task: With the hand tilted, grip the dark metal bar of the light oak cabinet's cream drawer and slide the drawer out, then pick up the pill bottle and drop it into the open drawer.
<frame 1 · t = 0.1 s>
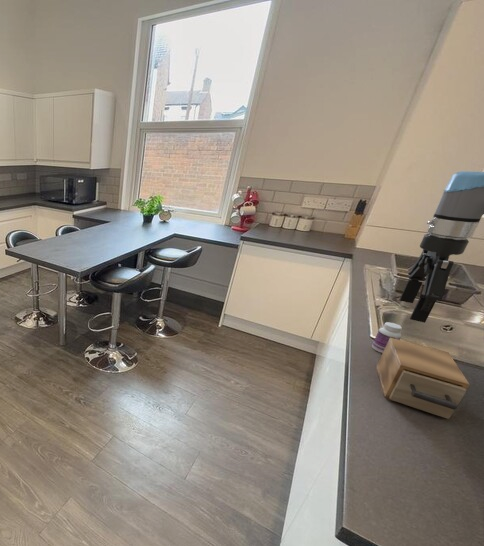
hand: (411, 310, 86), 21 cm above the worktop, tool pointing down, fingers open, 13 cm apart
pill bottle: (381, 350, 104), on the worktop
drawer: (421, 384, 81), point 5 cm above the worktop, slide at 0.5 cm
cabinet: (408, 390, 86), on the worktop
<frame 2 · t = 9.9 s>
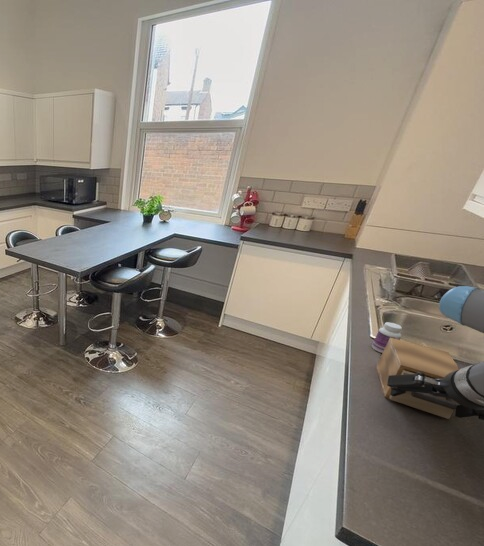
hand: (424, 400, 77), 4 cm above the worktop, tool tilted 45°, fingers closed on drawer, 11 cm apart
drawer: (421, 384, 81), point 5 cm above the worktop, slide at 0.5 cm, touching gripper
everything else where it was.
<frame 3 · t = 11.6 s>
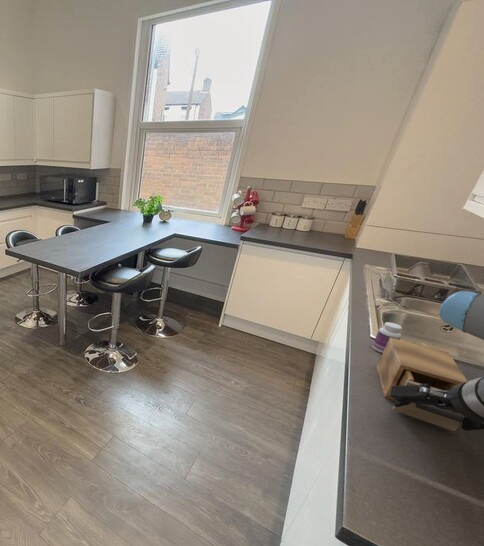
hand: (429, 412, 74), 4 cm above the worktop, tool tilted 45°, fingers closed on drawer, 11 cm apart
drawer: (425, 394, 77), point 5 cm above the worktop, slide at 5.0 cm, touching gripper
everything else where it was.
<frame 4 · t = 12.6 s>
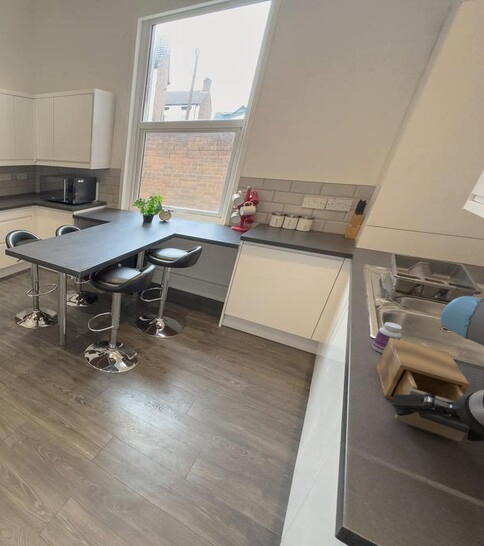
hand: (433, 421, 71), 4 cm above the worktop, tool tilted 45°, fingers closed on drawer, 11 cm apart
drawer: (429, 402, 75), point 5 cm above the worktop, slide at 8.4 cm, touching gripper
everything else where it was.
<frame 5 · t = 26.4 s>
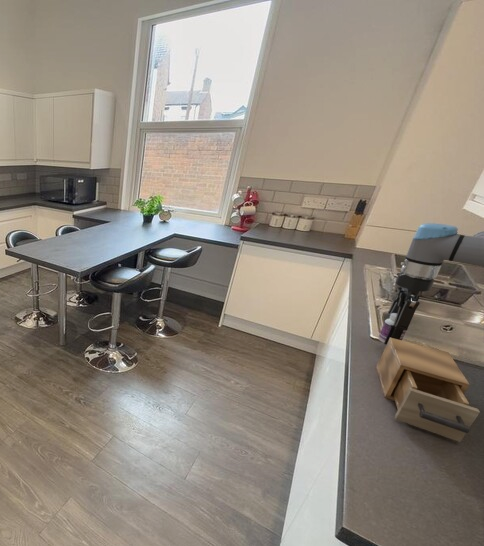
hand: (388, 340, 102), 4 cm above the worktop, tool pointing down, fingers closed on pill bottle, 5 cm apart
pill bottle: (388, 342, 102), point 3 cm above the worktop, touching gripper
drawer: (429, 402, 75), point 5 cm above the worktop, slide at 8.5 cm
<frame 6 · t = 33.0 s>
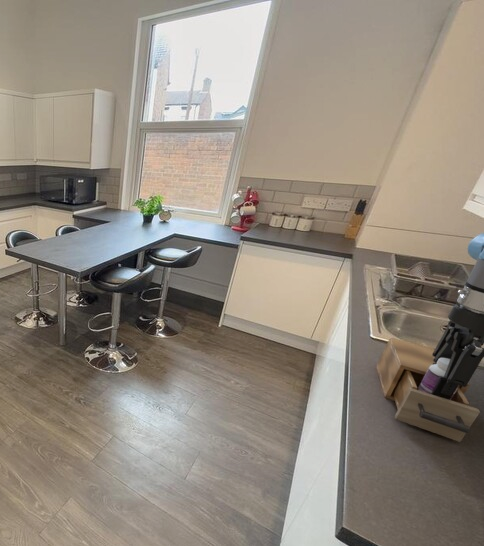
hand: (433, 394, 74), 8 cm above the worktop, tool pointing down, fingers closed on pill bottle, 5 cm apart
pill bottle: (432, 396, 74), point 7 cm above the worktop, touching gripper
everything else where it was.
when the fingers open (10 cm above the worktop, at t = 43.7 s): pill bottle drops 7 cm, point 3 cm above the worktop.
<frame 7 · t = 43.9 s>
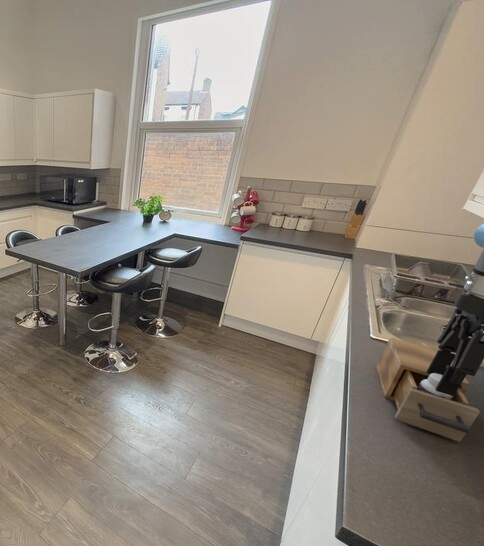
hand: (439, 383, 73), 11 cm above the worktop, tool pointing down, fingers open, 7 cm apart
pill bottle: (423, 409, 76), point 3 cm above the worktop
everything else where it was.
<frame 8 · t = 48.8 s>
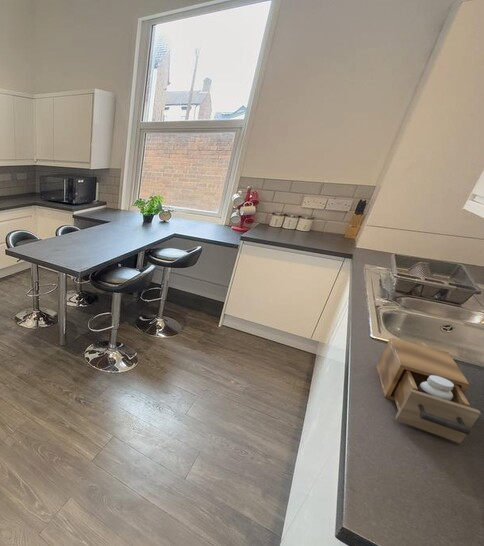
pill bottle: (423, 412, 76), point 2 cm above the worktop, touching drawer
drawer: (429, 403, 74), point 5 cm above the worktop, slide at 8.9 cm, touching pill bottle
at the end: drawer slide at 8.9 cm; pill bottle inside the target area in the drawer (0.5 cm from its centre), point 1.9 cm above the cabinet's base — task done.
